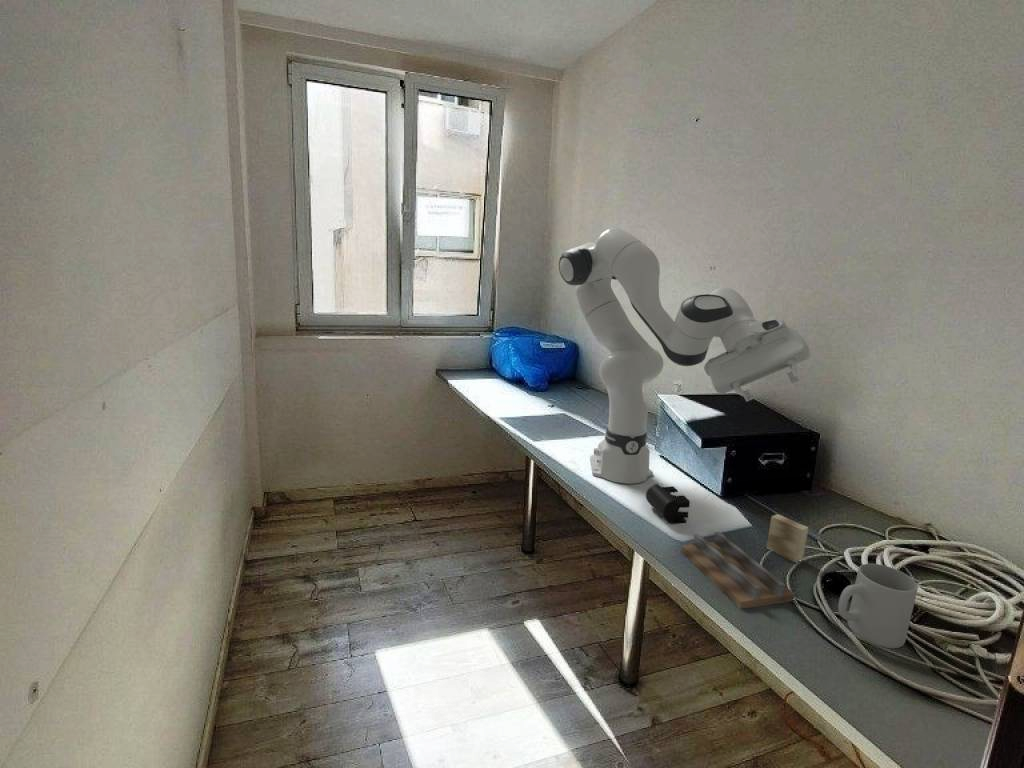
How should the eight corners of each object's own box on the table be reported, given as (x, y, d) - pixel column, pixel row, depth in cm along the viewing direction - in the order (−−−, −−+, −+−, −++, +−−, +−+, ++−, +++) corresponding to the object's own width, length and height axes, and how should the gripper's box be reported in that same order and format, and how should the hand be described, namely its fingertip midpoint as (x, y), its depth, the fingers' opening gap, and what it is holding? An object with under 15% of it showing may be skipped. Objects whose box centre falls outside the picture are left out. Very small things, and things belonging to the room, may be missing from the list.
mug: (878, 614, 95) (890, 562, 93) (917, 648, 87) (932, 591, 84) (818, 616, 94) (828, 563, 92) (852, 650, 86) (865, 593, 83)
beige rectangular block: (766, 548, 117) (771, 516, 115) (772, 545, 118) (777, 514, 116) (796, 563, 111) (802, 530, 110) (802, 560, 113) (808, 527, 111)
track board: (681, 551, 114) (683, 535, 113) (727, 546, 117) (729, 530, 116) (740, 608, 95) (743, 590, 94) (793, 600, 98) (797, 582, 97)
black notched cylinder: (644, 507, 135) (646, 483, 134) (668, 506, 137) (671, 482, 135) (661, 526, 126) (664, 500, 124) (688, 524, 127) (691, 499, 125)
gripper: (697, 355, 117) (718, 403, 108) (789, 314, 110) (820, 361, 101) (705, 370, 121) (726, 416, 113) (794, 331, 114) (824, 377, 105)
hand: (771, 390), depth 107 cm, fingers open, 8 cm apart
